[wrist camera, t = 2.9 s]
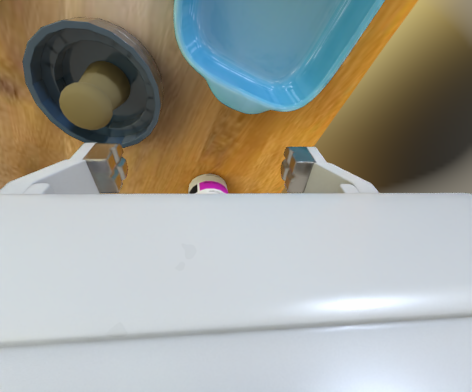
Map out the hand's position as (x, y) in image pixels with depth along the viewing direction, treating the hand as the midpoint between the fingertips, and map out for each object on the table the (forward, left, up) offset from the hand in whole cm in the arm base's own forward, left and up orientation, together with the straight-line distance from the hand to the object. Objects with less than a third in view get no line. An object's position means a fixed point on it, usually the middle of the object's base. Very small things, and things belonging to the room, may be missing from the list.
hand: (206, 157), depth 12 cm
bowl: (-11, -8, -29) cm, 32 cm away
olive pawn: (-11, -8, -28) cm, 31 cm away
